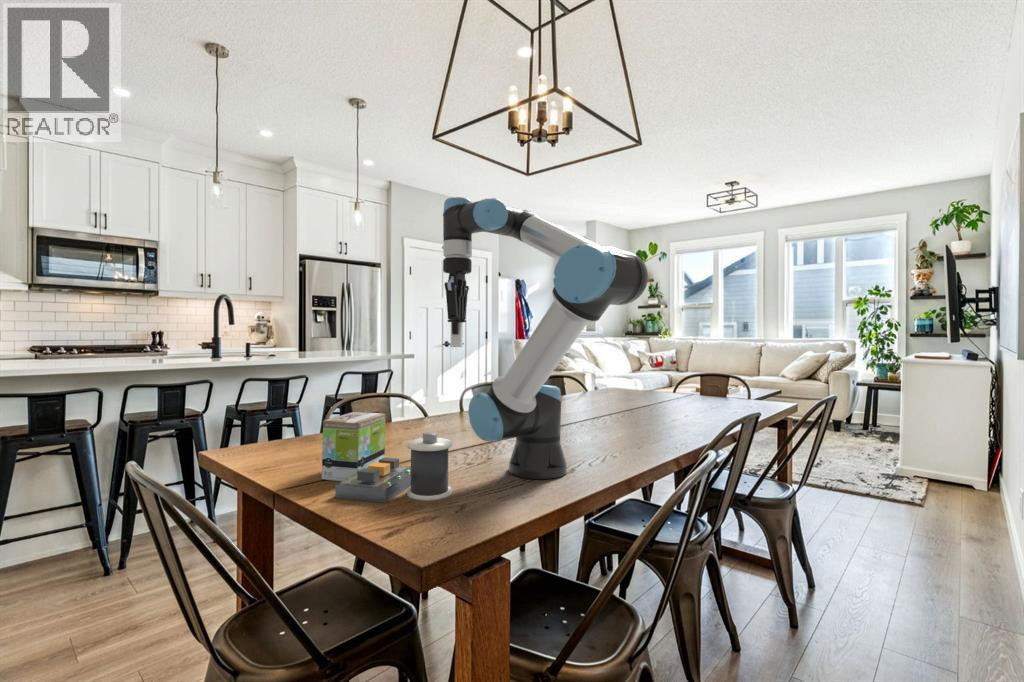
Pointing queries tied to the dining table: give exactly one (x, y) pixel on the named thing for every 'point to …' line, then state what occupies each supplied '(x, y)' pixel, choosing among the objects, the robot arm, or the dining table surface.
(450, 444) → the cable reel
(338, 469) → the tea box
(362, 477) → the paddle
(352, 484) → the breaker strip
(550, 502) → the dining table surface
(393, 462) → the paddle
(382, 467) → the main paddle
